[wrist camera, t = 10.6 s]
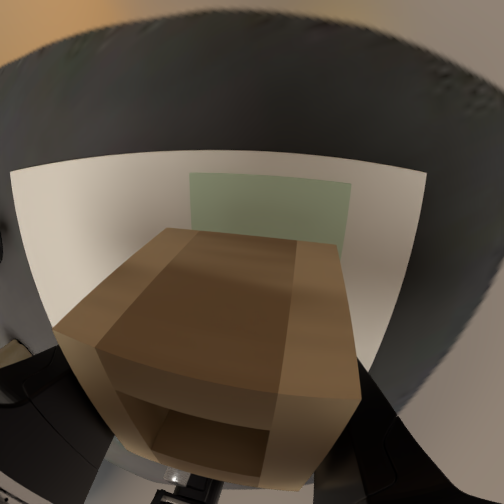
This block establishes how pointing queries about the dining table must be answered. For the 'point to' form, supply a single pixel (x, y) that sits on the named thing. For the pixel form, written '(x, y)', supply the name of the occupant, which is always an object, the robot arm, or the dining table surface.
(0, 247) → the dark grey holder
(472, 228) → the dining table surface
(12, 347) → the flower pot
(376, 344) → the course mat
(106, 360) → the oak open box
